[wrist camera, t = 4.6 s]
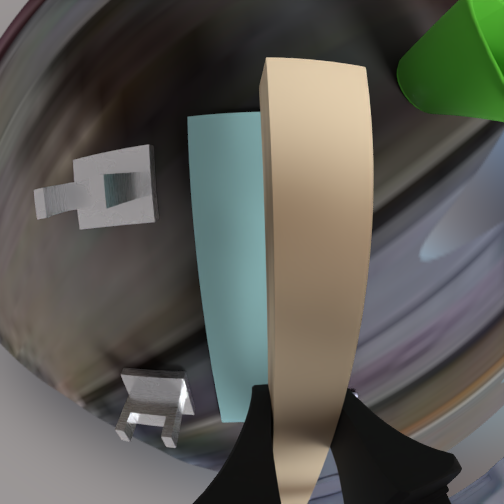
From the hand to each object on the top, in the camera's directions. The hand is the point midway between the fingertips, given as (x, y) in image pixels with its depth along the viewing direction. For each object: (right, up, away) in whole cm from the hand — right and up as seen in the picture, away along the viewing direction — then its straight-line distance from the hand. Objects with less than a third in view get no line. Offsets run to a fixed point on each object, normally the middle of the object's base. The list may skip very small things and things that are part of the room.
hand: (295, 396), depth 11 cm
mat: (0, +3, +9) cm, 9 cm away
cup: (+11, +20, +4) cm, 23 cm away
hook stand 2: (-11, -6, +11) cm, 17 cm away
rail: (0, 0, 0) cm, 0 cm away
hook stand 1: (-11, +11, +6) cm, 17 cm away
